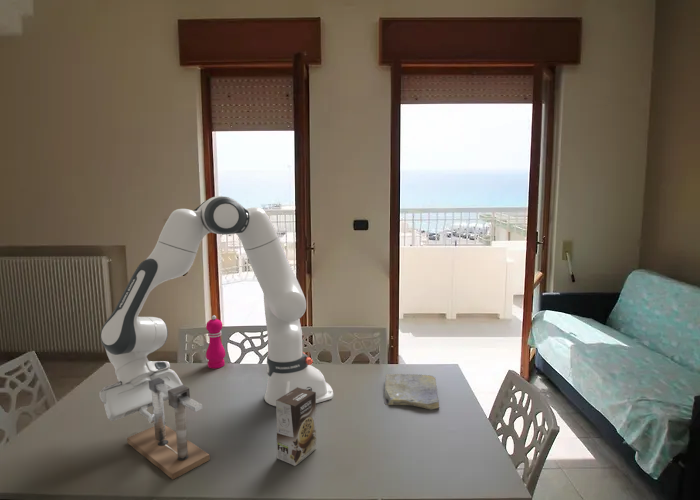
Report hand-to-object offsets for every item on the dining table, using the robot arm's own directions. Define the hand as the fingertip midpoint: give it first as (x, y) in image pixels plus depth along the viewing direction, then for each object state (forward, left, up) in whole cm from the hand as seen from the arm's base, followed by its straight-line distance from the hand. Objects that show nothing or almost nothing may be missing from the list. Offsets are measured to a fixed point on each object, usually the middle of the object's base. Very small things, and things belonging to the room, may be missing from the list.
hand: (156, 420), depth 122 cm
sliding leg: (-6, +10, -5) cm, 12 cm away
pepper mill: (-18, -49, -7) cm, 53 cm away
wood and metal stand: (-2, +5, -7) cm, 8 cm away
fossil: (-77, -1, -7) cm, 78 cm away
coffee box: (-34, +18, -7) cm, 39 cm away
